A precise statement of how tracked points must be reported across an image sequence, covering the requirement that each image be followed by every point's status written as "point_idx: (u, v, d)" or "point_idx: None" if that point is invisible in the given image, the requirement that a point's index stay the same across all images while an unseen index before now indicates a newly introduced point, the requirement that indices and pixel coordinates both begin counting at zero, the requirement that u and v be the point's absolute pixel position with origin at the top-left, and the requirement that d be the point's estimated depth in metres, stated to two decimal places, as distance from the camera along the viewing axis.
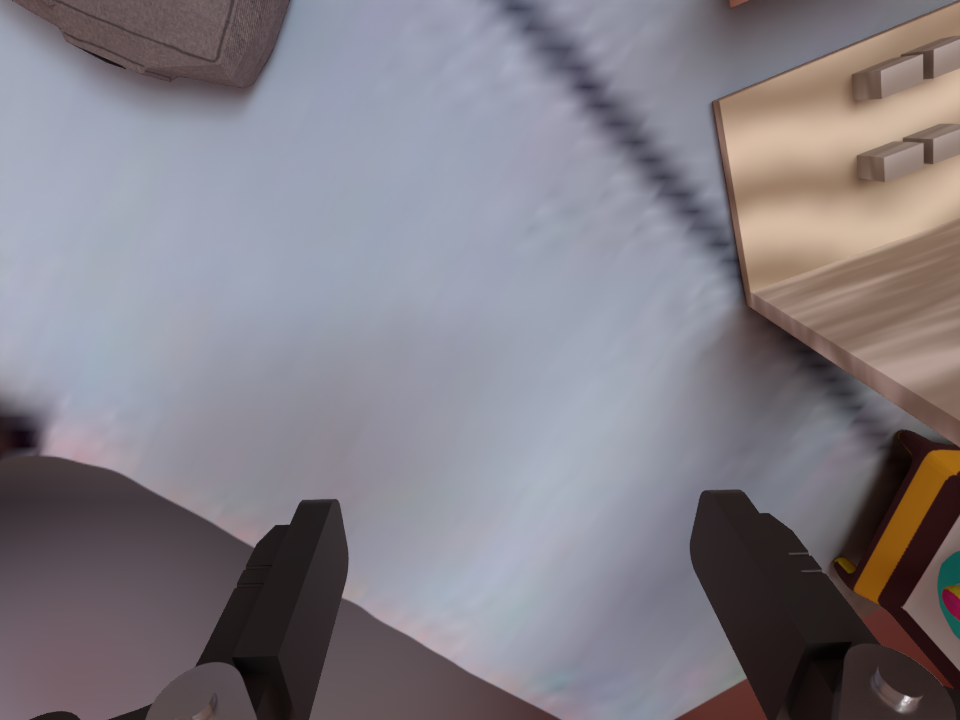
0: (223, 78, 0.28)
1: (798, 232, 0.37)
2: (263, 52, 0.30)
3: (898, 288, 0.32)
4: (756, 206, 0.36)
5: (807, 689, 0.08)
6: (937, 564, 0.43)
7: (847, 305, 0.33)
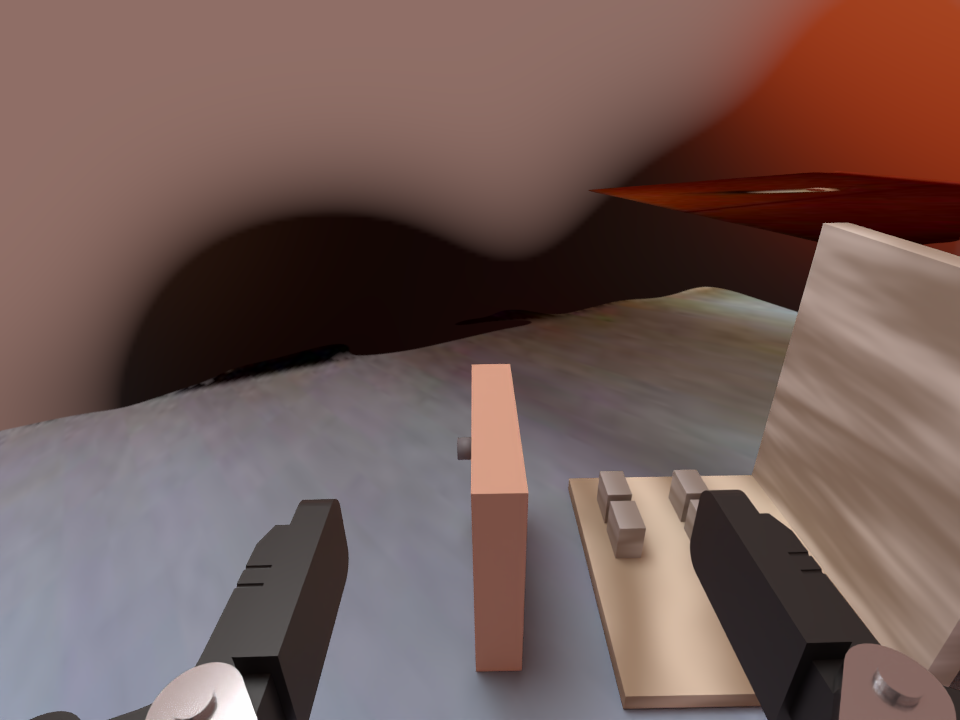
0: None
1: None
2: None
3: (869, 499, 0.27)
4: None
5: (807, 689, 0.08)
6: None
7: (915, 545, 0.24)
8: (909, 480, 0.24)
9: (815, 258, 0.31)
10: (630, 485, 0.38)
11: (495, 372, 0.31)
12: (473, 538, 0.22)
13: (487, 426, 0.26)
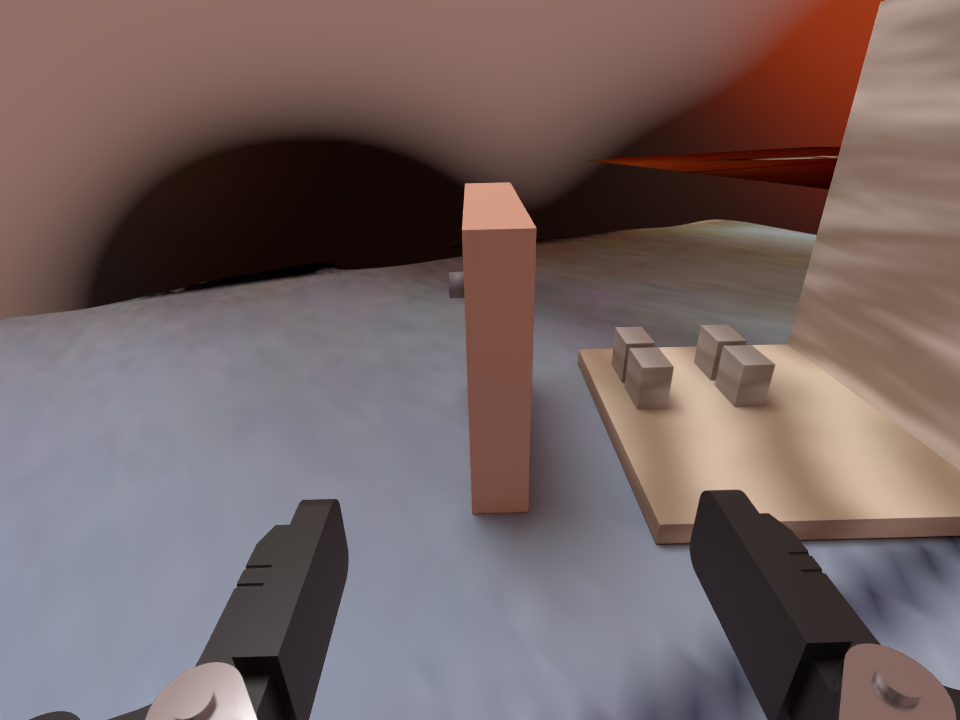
0: None
1: (864, 454, 0.23)
2: None
3: (949, 303, 0.22)
4: (837, 495, 0.21)
5: (807, 689, 0.08)
6: None
7: None
8: None
9: (870, 49, 0.26)
10: None
11: (493, 185, 0.26)
12: (466, 303, 0.17)
13: (482, 204, 0.21)
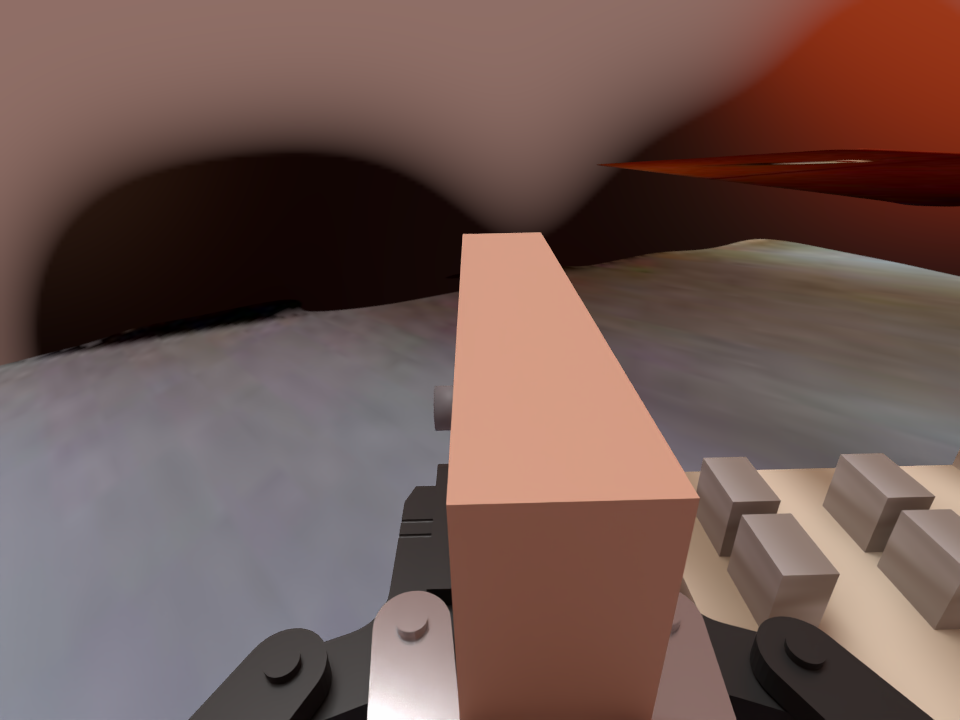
0: None
1: None
2: None
3: None
4: None
5: None
6: None
7: None
8: None
9: None
10: None
11: (513, 241, 0.15)
12: (461, 673, 0.06)
13: (500, 314, 0.09)
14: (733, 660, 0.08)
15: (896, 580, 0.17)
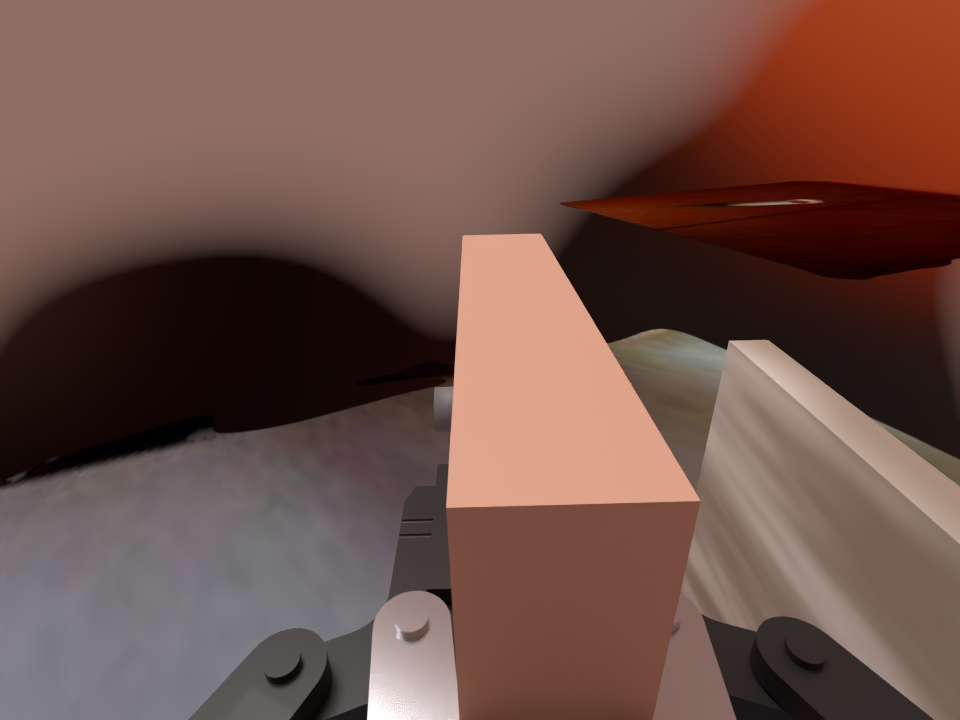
0: None
1: None
2: None
3: None
4: None
5: None
6: None
7: None
8: None
9: (721, 390, 0.20)
10: None
11: (513, 242, 0.15)
12: (460, 676, 0.06)
13: (500, 316, 0.09)
14: (733, 660, 0.08)
15: None
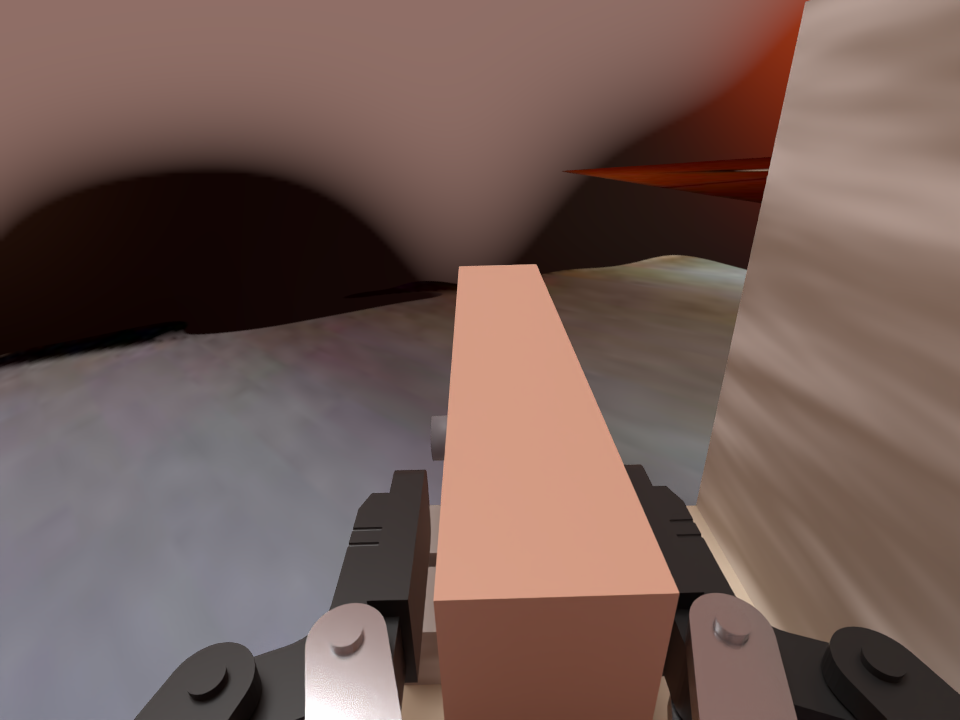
0: None
1: None
2: None
3: (918, 589, 0.11)
4: None
5: None
6: None
7: None
8: None
9: (792, 82, 0.15)
10: None
11: (509, 275, 0.15)
12: None
13: (493, 366, 0.09)
14: (804, 671, 0.08)
15: None
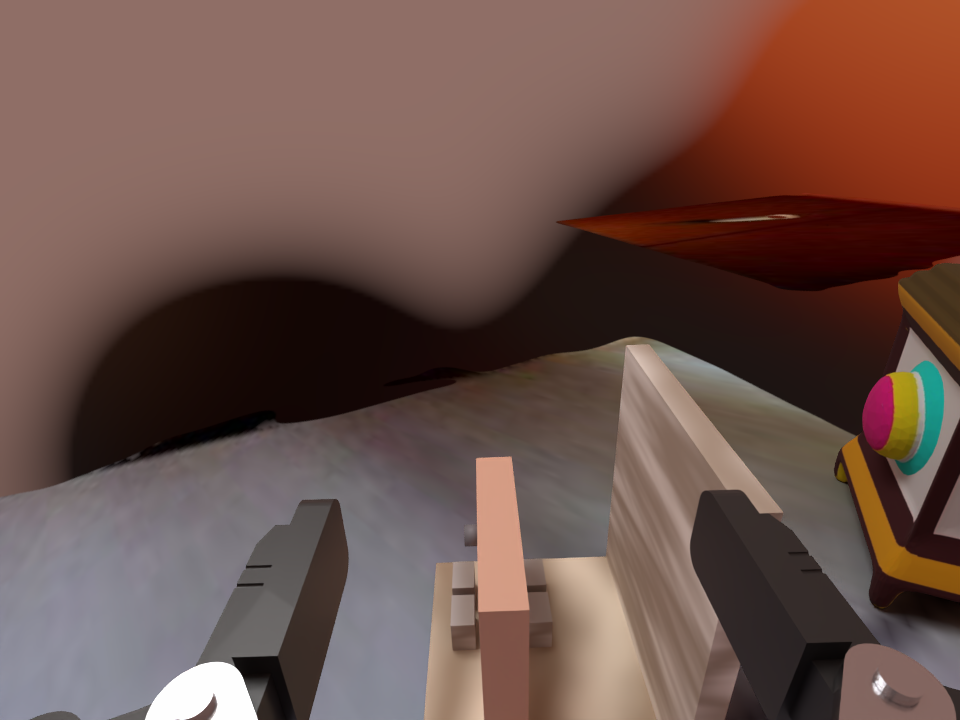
0: None
1: (600, 711, 0.31)
2: None
3: (653, 605, 0.30)
4: None
5: (807, 689, 0.08)
6: None
7: (672, 656, 0.27)
8: (668, 597, 0.28)
9: (624, 374, 0.34)
10: None
11: (498, 467, 0.34)
12: (481, 647, 0.25)
13: (491, 533, 0.28)
14: None
15: None
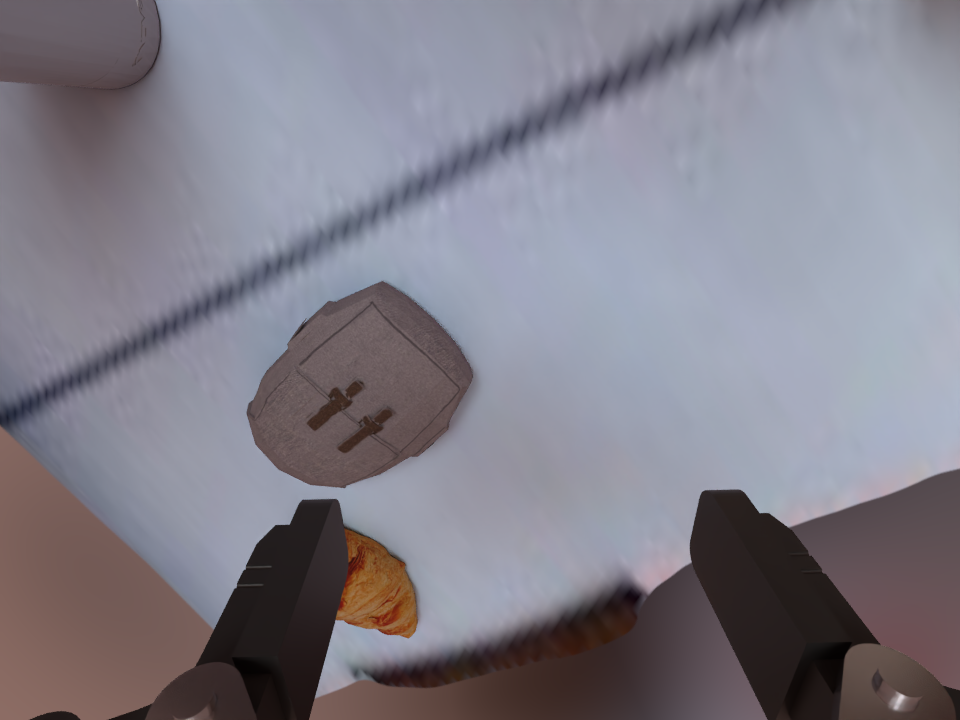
0: (467, 387, 0.42)
1: None
2: (459, 353, 0.43)
3: None
4: None
5: (807, 689, 0.08)
6: None
7: None
8: None
9: None
10: None
11: None
12: None
13: None
14: None
15: None
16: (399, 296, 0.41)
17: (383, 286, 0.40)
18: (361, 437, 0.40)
